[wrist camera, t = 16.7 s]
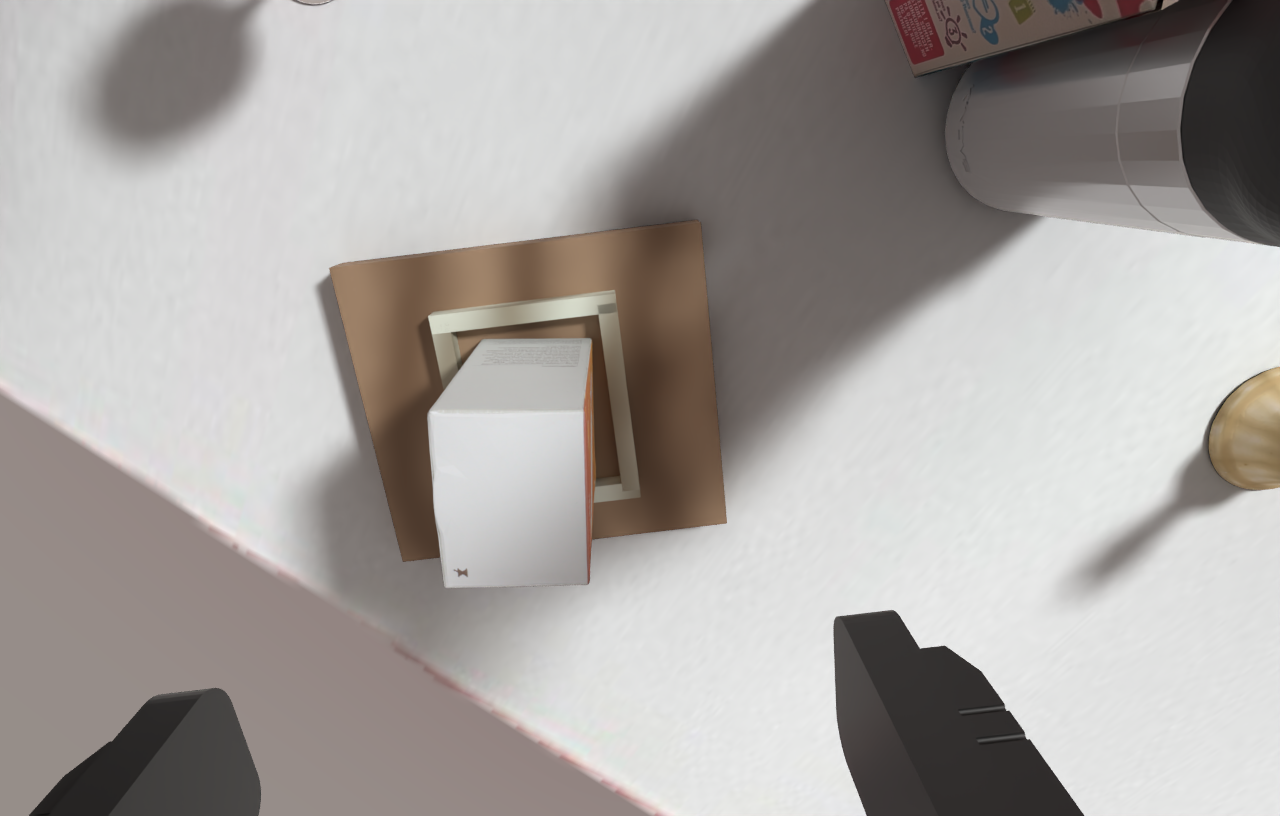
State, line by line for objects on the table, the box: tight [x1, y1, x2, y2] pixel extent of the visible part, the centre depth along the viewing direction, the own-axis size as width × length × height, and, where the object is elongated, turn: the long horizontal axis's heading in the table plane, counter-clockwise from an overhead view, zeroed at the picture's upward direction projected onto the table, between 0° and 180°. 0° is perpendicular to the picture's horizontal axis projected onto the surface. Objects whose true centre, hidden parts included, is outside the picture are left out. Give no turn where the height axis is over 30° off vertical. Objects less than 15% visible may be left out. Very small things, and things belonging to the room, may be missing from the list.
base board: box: [329, 220, 727, 562], centre depth 42 cm, size 20×18×3 cm
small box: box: [427, 338, 596, 589], centre depth 36 cm, size 8×6×13 cm
